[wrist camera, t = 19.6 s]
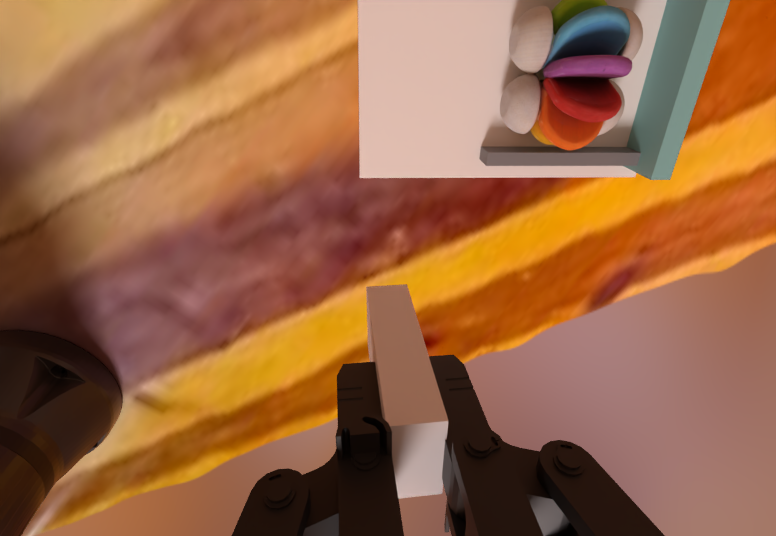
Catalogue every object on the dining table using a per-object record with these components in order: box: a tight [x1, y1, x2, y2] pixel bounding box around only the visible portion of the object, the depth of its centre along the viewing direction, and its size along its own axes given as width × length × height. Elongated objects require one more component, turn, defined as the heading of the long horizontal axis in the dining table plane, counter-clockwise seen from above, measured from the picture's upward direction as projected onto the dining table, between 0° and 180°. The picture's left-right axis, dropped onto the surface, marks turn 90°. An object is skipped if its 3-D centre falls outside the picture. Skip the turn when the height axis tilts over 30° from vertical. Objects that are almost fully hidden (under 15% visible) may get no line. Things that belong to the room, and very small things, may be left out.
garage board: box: [358, 0, 730, 180], centre depth 31 cm, size 23×16×5 cm
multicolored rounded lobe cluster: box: [500, 0, 643, 150], centre depth 29 cm, size 8×10×7 cm
